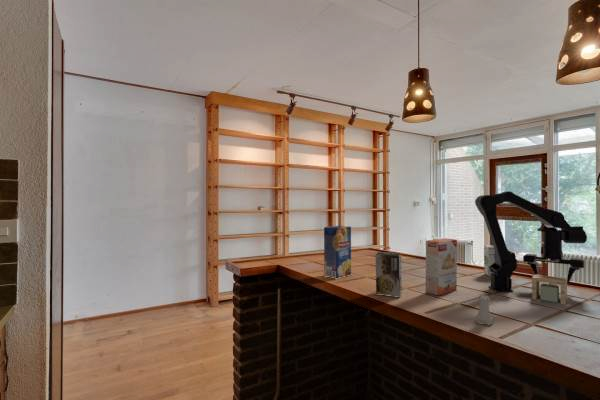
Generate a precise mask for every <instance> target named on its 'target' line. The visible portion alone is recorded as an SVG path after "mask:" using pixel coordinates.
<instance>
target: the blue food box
mask: <svg viewBox="0 0 600 400" xmlns="http://www.w3.org/2000/svg"><path fill="white" fill-rule="evenodd" d="M323 228H324V229H323V250H324V251H323V253H324V255H323V262H324V263H323V266H324V268H323V269H324V271H323V275H325V276H329V277H334V278H339V277H343V276H347V275H350V274H351V275H352V226H347V225H346V226H344V225H334V226H324V227H323ZM351 275H350V276H351ZM347 277H348V276H347Z"/></svg>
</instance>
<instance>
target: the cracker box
mask: <svg viewBox="0 0 600 400" xmlns="http://www.w3.org/2000/svg"><path fill="white" fill-rule="evenodd" d="M457 263H458V240H457V239H455V238H439V239H438V238H436V239H429V240H426V241H425V293H427V294H430V295H433V294H434V296H442V295H444V294H448V293H451V292H455V291H457V289H458V288H457V286H458V285H457V282H458V281H457V279H458V278H457V272H458V271H457V270H458V268H457V267H458V266H457V265H458V264H457Z"/></svg>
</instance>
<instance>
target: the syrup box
mask: <svg viewBox="0 0 600 400" xmlns="http://www.w3.org/2000/svg"><path fill="white" fill-rule="evenodd" d="M483 250H484V251H483V258H484V260H483V261H484V262H483V263H484V267H483V268H484V269H483V270H484V275H485V276H487V277H490V278H491V273H492V272H490V270H489V267H490V266H491V265H492V264H493V263H494V262H495V259H494V252H495V249H494V246H493V244H485V245H483Z"/></svg>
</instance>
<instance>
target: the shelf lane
mask: <svg viewBox="0 0 600 400" xmlns="http://www.w3.org/2000/svg"><path fill="white" fill-rule="evenodd" d="M541 282H542V283H543V282H544V283H549V282H550V283H557V285H560V305H566V304H567V301H568V284H567V278H566V277H558V276H551V275H542V274H539V275H535V274H534V275H532V277H531V285H532V286H531V297H532V298H531V299H532V300H536V301H537V300H538V298H539V297H540V285H541V284H540V283H541Z"/></svg>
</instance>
